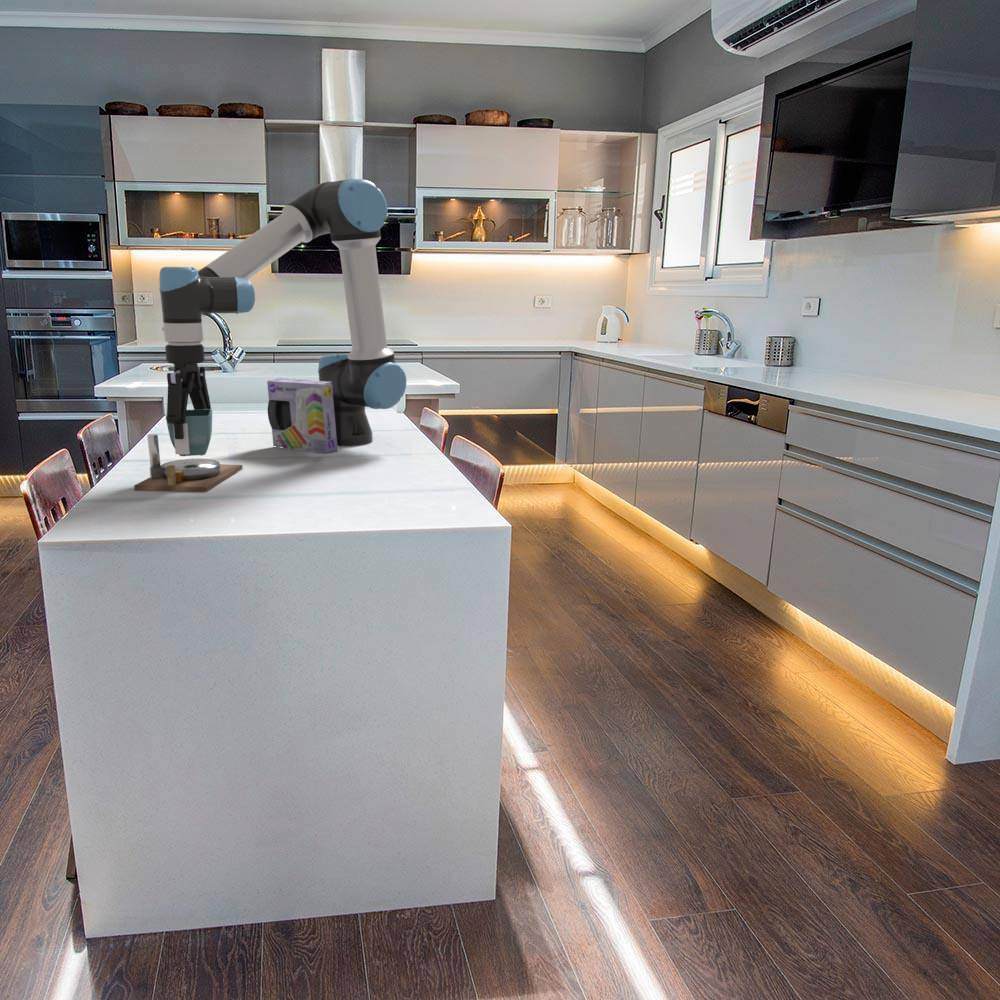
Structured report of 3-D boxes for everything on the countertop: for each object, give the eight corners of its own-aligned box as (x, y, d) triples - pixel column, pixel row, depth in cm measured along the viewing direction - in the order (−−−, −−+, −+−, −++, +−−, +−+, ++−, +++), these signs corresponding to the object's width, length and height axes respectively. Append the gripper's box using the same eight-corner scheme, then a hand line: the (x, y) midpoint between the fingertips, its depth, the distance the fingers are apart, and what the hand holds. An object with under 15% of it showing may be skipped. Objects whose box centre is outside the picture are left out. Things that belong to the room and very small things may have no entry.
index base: (242, 469, 193) (241, 447, 191) (206, 491, 172) (204, 467, 171) (178, 467, 193) (176, 446, 192) (134, 490, 173) (132, 466, 172)
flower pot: (169, 459, 176) (165, 416, 174) (173, 450, 185) (169, 410, 182) (213, 457, 179) (210, 415, 176) (215, 449, 187) (212, 408, 184)
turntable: (213, 465, 190) (210, 425, 188) (226, 477, 180) (223, 435, 177) (146, 471, 184) (142, 430, 181) (156, 484, 173) (151, 441, 170)
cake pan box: (268, 447, 218) (264, 378, 213) (282, 444, 222) (278, 376, 217) (325, 455, 208) (322, 383, 204) (338, 452, 213) (336, 381, 208)
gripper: (188, 339, 187) (196, 439, 192) (141, 347, 165) (152, 459, 171) (222, 340, 186) (229, 439, 192) (179, 348, 165) (188, 460, 170)
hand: (192, 449), depth 181 cm, fingers closed on flower pot, 10 cm apart
